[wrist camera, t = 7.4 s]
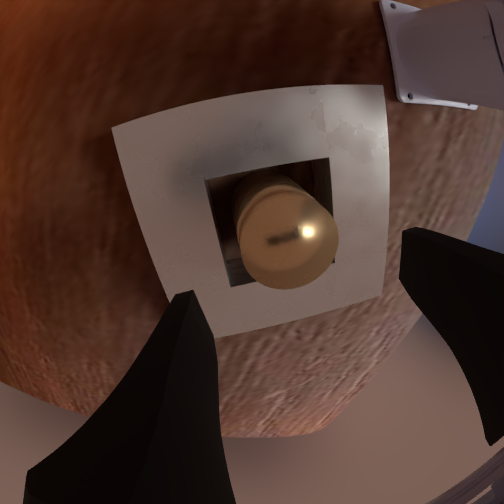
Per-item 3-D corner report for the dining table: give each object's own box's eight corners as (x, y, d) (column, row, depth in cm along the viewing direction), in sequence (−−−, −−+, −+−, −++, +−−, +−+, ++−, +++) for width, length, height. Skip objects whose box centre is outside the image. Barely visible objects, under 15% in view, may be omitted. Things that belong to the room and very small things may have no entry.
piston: (288, 159, 16) (326, 183, 11) (307, 221, 18) (346, 268, 13) (219, 185, 16) (225, 223, 11) (245, 245, 18) (261, 302, 13)
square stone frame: (357, 87, 14) (383, 85, 12) (363, 273, 21) (381, 294, 18) (128, 124, 14) (111, 127, 11) (189, 314, 20) (188, 343, 18)
